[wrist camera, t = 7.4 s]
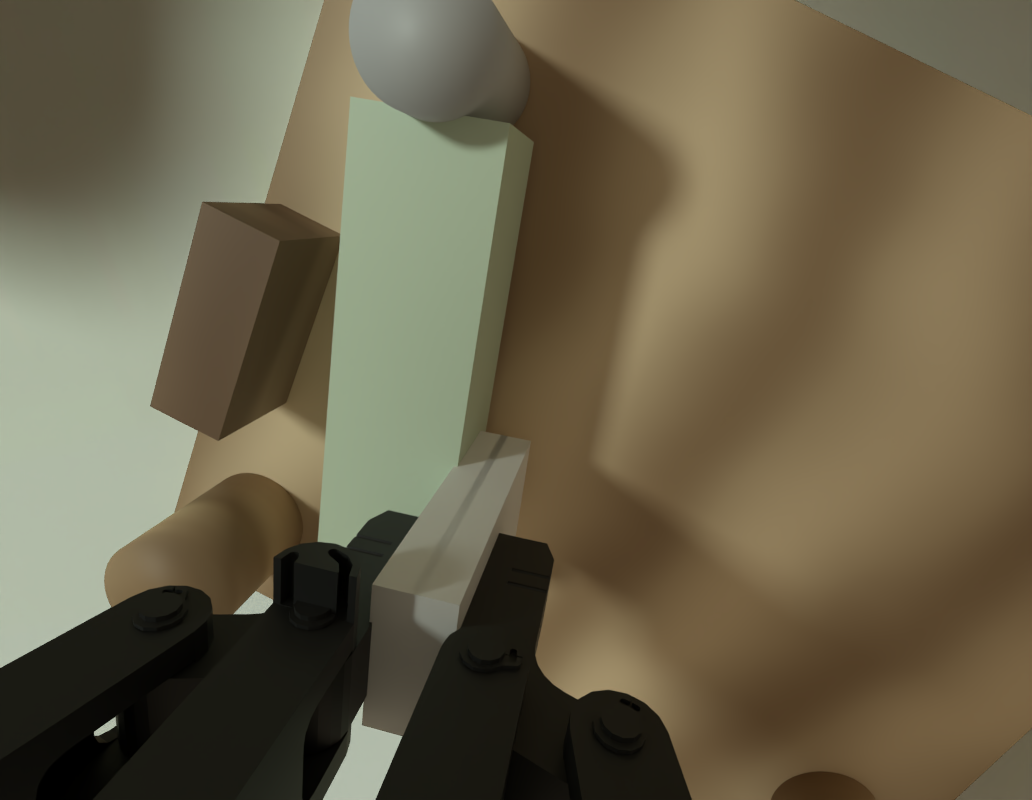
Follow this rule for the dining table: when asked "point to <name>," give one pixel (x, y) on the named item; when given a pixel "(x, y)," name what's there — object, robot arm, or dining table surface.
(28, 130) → the dining table surface
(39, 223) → the dining table surface
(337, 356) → the rail
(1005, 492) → the stool board
